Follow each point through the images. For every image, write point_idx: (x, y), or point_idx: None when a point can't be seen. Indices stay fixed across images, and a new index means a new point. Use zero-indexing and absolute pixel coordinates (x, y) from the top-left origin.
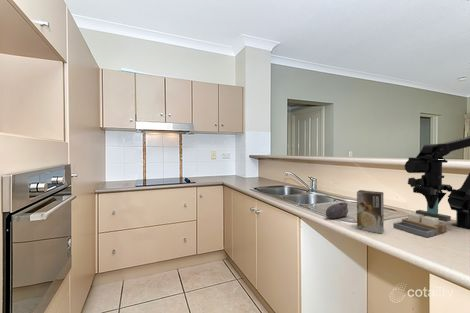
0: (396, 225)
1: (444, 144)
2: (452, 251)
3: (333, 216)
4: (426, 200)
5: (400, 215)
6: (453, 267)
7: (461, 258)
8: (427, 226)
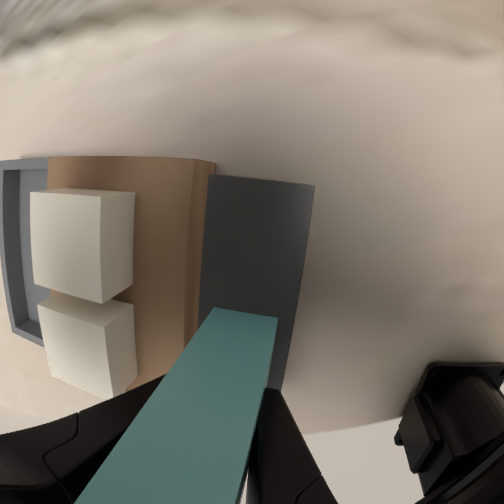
0: (4, 180)
1: None
2: (14, 390)
3: None
4: (71, 415)
5: (398, 11)
6: None
7: (4, 401)
8: None
